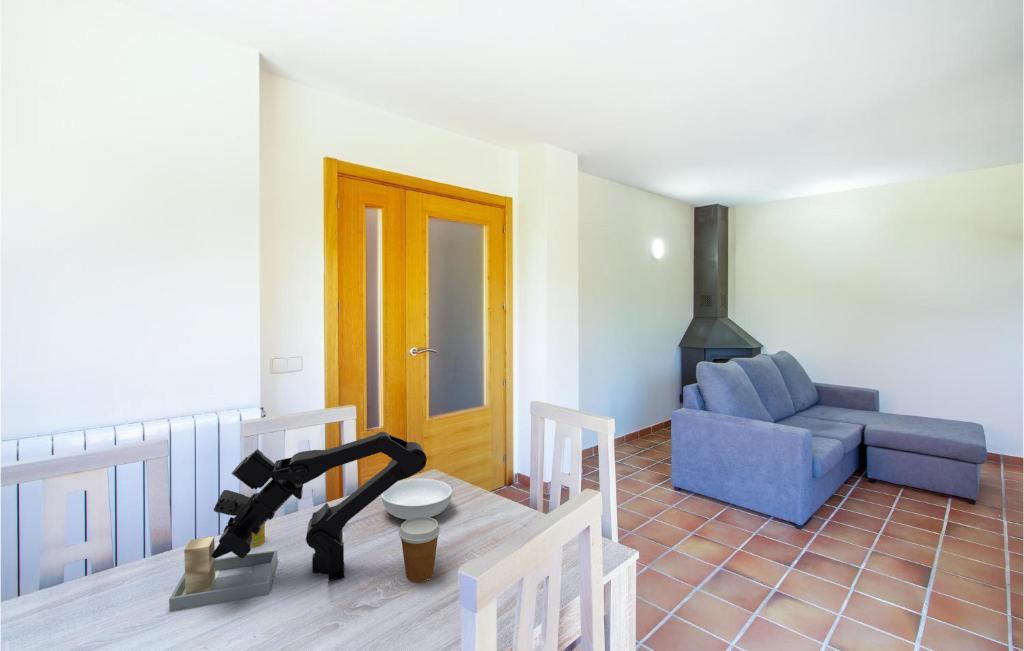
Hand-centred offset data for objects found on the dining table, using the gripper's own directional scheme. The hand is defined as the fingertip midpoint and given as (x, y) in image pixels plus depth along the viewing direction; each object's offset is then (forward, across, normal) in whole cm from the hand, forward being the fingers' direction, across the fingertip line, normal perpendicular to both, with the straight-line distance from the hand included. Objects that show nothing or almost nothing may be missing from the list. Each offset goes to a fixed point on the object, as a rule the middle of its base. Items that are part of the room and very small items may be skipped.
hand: (213, 556), depth 106 cm
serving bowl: (-28, -26, +40) cm, 55 cm away
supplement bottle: (+2, -18, +9) cm, 20 cm away
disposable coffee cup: (-25, +7, +37) cm, 45 cm away
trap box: (+4, 0, +8) cm, 8 cm away
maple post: (+6, 0, +3) cm, 7 cm away
